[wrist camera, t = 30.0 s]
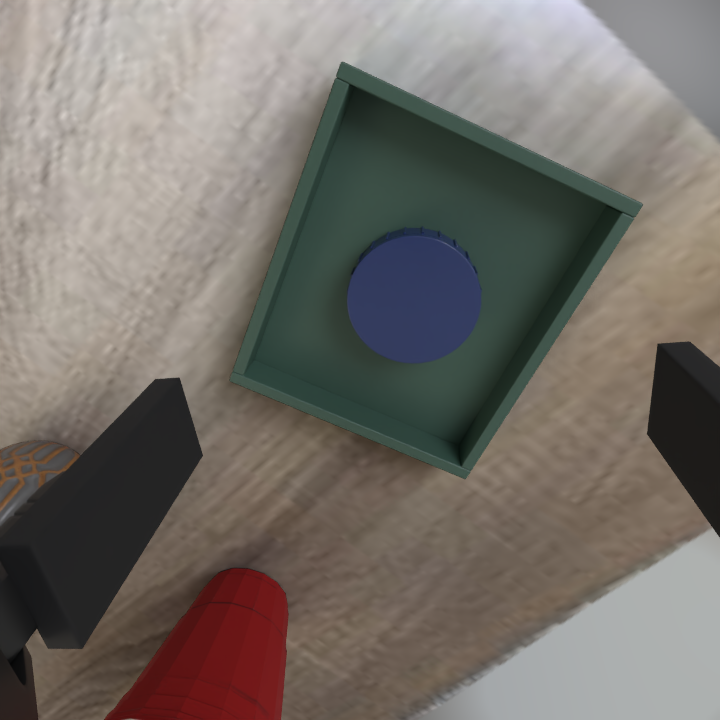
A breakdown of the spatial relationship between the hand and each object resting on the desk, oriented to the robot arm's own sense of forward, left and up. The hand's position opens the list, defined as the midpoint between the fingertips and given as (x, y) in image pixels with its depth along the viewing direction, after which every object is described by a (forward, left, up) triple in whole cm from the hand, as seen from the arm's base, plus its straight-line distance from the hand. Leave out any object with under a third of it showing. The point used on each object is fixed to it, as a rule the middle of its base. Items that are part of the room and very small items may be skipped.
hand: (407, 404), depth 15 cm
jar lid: (0, 0, -10) cm, 10 cm away
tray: (0, 0, -12) cm, 12 cm away
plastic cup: (+25, -1, -13) cm, 28 cm away
